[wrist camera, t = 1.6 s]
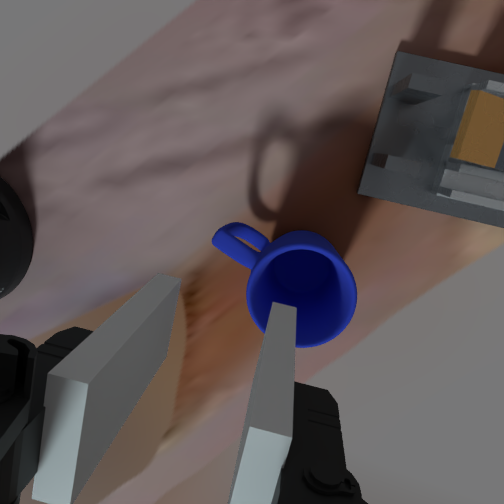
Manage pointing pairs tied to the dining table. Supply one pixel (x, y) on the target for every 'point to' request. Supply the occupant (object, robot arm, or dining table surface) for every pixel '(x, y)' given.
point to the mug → (294, 280)
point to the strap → (481, 131)
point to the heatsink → (431, 142)
